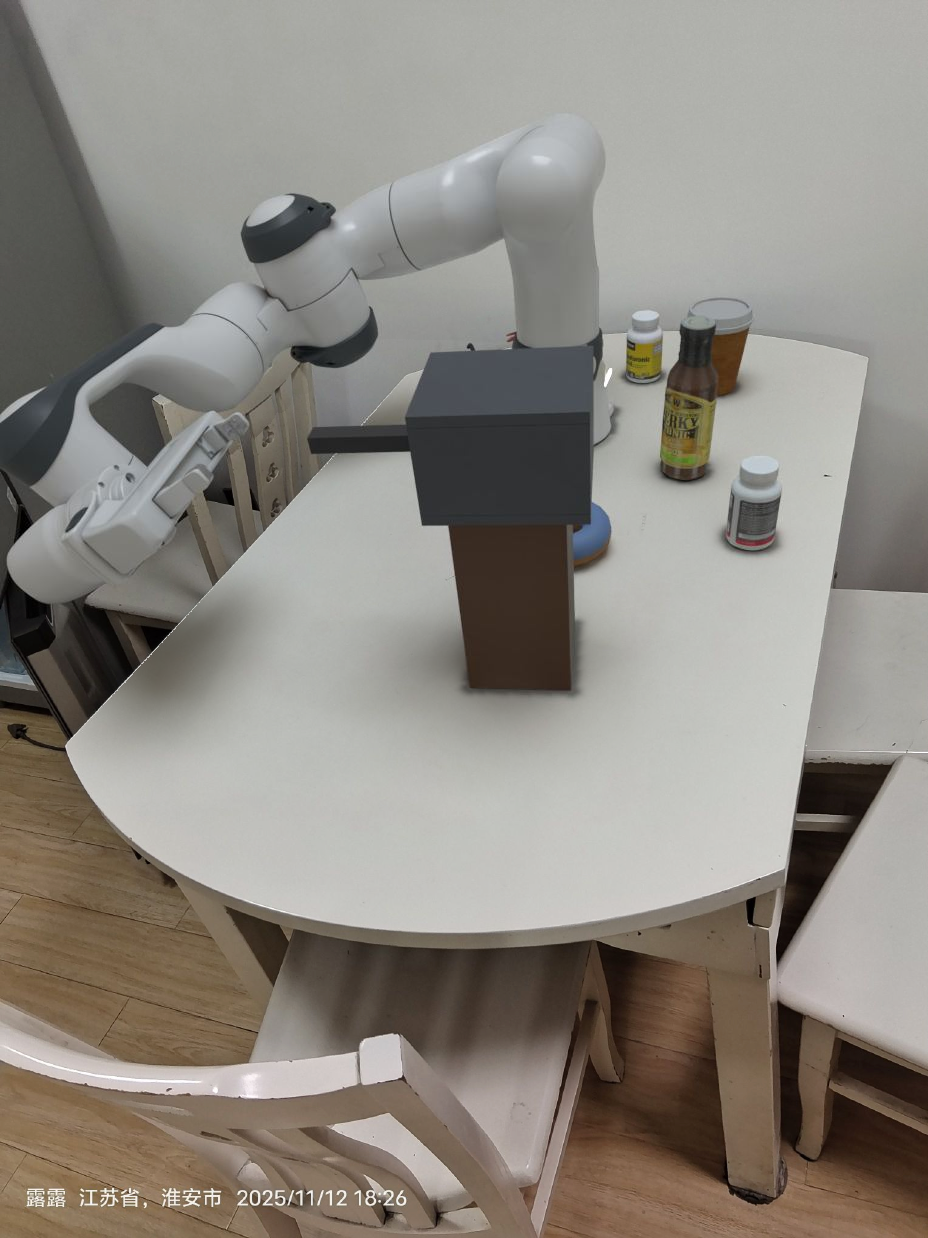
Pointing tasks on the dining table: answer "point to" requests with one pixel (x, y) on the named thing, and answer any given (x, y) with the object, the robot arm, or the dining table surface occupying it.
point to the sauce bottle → (690, 402)
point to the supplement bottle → (644, 347)
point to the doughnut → (591, 536)
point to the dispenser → (508, 499)
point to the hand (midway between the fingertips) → (225, 446)
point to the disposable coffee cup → (726, 335)
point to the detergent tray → (358, 439)
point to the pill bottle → (754, 504)
